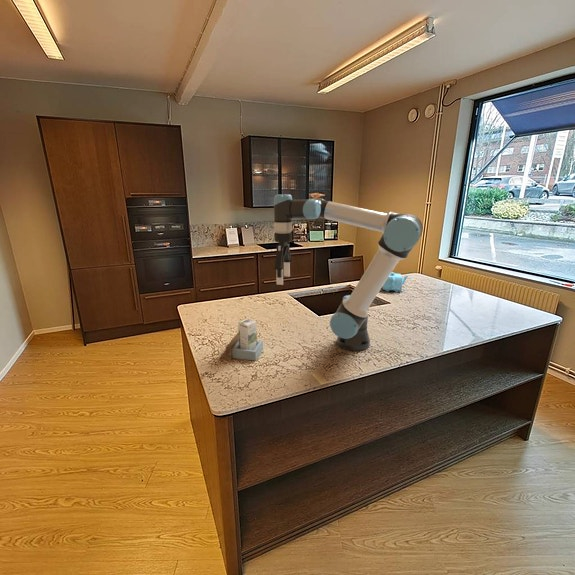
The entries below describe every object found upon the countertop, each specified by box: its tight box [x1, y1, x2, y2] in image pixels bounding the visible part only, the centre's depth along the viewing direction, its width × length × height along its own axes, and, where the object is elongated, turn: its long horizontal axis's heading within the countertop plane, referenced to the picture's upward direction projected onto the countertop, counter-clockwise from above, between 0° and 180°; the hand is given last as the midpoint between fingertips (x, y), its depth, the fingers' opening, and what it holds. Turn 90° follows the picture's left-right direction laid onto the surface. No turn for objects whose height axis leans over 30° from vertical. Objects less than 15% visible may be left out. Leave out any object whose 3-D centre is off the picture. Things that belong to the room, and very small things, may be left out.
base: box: [219, 332, 239, 361], centre depth 142 cm, size 5×14×6 cm, turn 167°
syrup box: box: [237, 318, 258, 350], centre depth 140 cm, size 6×6×14 cm
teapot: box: [381, 271, 411, 293], centre depth 227 cm, size 18×16×13 cm
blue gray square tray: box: [232, 339, 264, 361], centre depth 141 cm, size 10×10×4 cm
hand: (283, 280), depth 143 cm, fingers open, 13 cm apart
